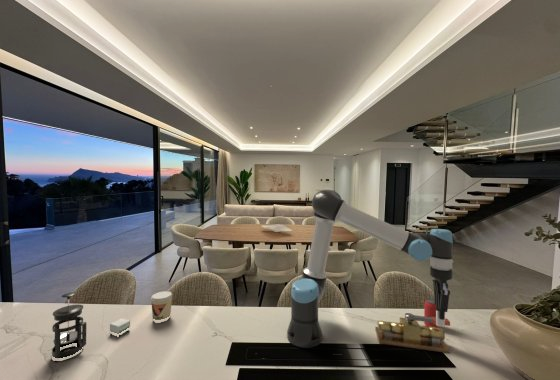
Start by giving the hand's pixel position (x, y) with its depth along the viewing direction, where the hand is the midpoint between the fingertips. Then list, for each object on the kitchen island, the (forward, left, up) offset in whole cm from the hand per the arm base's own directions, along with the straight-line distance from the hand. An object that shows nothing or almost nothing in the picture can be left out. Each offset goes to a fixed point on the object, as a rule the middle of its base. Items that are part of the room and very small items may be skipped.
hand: (440, 325), depth 99 cm
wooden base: (-11, +3, -9) cm, 14 cm away
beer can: (+3, +18, -10) cm, 20 cm away
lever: (-4, +2, 0) cm, 5 cm away
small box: (-135, -21, -10) cm, 137 cm away
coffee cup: (-125, -7, -10) cm, 125 cm away
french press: (-142, -37, -10) cm, 147 cm away
